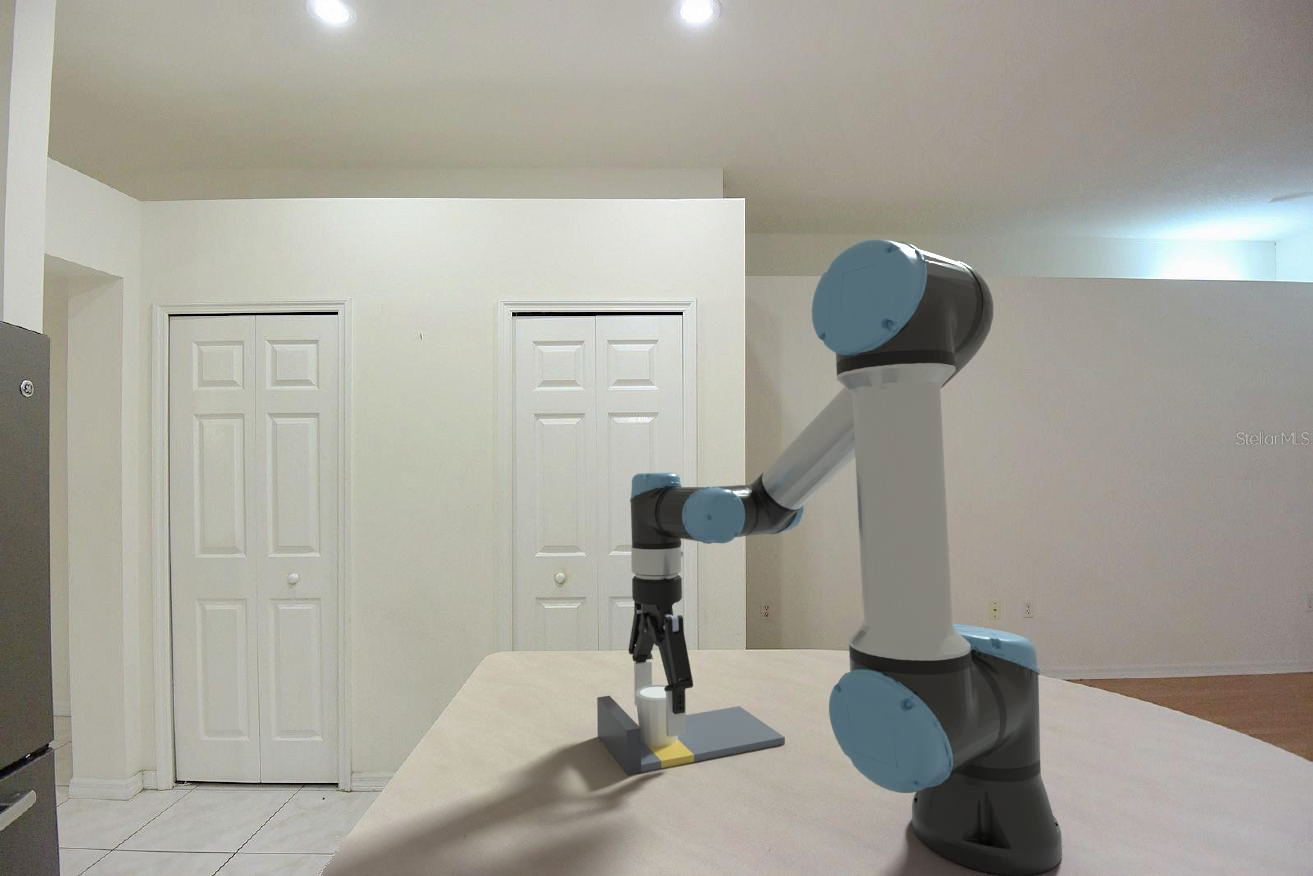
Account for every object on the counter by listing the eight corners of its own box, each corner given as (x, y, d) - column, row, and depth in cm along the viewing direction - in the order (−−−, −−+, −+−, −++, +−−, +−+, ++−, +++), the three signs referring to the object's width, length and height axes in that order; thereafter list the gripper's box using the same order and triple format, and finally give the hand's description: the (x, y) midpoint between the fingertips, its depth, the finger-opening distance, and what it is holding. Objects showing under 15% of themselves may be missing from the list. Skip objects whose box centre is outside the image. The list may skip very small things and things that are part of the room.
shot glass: (682, 748, 98) (681, 699, 98) (634, 748, 98) (634, 699, 98) (681, 729, 105) (680, 683, 105) (637, 729, 105) (636, 684, 105)
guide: (784, 744, 101) (784, 703, 101) (627, 775, 92) (626, 730, 92) (739, 712, 114) (738, 676, 114) (597, 736, 105) (597, 697, 105)
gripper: (715, 586, 92) (718, 745, 91) (650, 562, 115) (652, 689, 114) (665, 591, 89) (667, 755, 89) (608, 565, 112) (609, 695, 111)
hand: (658, 718), depth 101 cm, fingers open, 12 cm apart
